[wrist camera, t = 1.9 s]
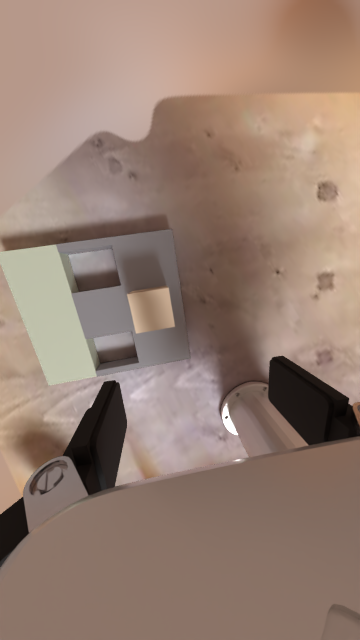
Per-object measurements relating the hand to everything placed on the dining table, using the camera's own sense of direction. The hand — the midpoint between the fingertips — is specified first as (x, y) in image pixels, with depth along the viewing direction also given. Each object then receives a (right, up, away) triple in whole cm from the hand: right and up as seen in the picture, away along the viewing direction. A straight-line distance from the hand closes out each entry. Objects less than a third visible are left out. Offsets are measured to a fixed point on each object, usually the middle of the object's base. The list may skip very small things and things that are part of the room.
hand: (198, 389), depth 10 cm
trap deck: (-12, +6, +18) cm, 22 cm away
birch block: (-5, +6, +16) cm, 18 cm away
